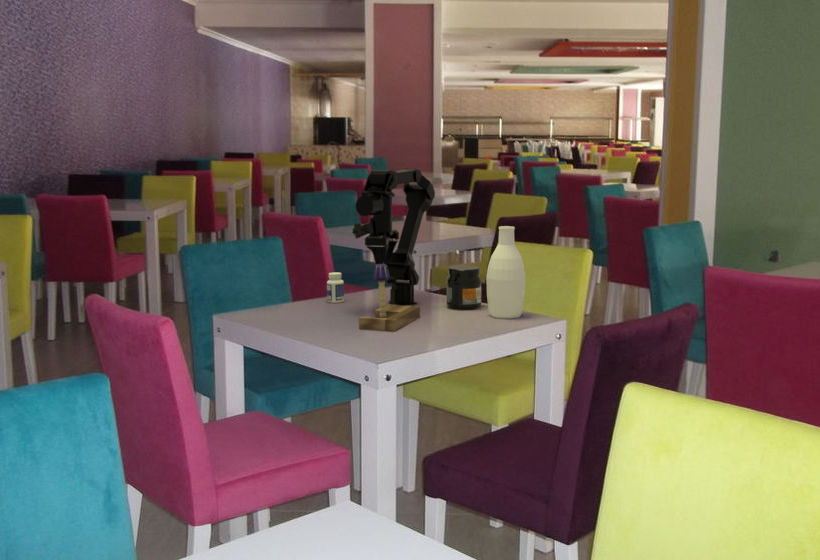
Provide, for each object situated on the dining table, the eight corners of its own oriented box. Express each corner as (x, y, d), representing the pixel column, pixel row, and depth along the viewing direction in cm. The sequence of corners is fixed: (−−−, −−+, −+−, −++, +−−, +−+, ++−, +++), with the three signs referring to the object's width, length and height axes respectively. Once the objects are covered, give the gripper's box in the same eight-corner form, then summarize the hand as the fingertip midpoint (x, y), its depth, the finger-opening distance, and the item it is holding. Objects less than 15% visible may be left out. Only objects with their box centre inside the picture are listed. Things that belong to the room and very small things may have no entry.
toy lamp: (383, 327, 249) (382, 266, 246) (369, 325, 252) (369, 264, 249) (394, 324, 253) (393, 264, 250) (380, 322, 256) (380, 262, 253)
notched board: (359, 328, 247) (358, 317, 247) (387, 314, 266) (387, 304, 266) (393, 331, 244) (393, 320, 243) (419, 316, 263) (419, 306, 262)
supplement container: (487, 309, 274) (487, 269, 272) (454, 311, 271) (454, 271, 269) (472, 303, 284) (473, 264, 282) (440, 305, 280) (441, 266, 278)
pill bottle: (345, 300, 289) (345, 272, 288) (342, 303, 284) (342, 274, 283) (328, 299, 290) (328, 271, 288) (325, 302, 285) (325, 274, 283)
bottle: (531, 318, 261) (533, 228, 257) (494, 320, 258) (495, 229, 254) (515, 310, 271) (517, 224, 267) (480, 313, 268) (481, 225, 264)
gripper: (362, 210, 278) (363, 262, 280) (346, 215, 260) (347, 270, 262) (399, 211, 276) (399, 262, 278) (385, 216, 258) (385, 272, 260)
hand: (382, 267), depth 270 cm, fingers open, 9 cm apart
